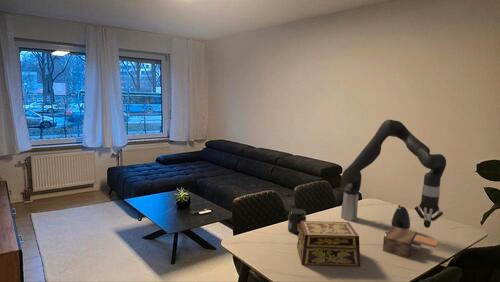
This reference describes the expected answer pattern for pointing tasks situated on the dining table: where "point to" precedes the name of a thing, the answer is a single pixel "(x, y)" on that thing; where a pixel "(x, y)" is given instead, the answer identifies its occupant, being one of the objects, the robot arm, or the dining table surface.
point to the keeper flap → (425, 241)
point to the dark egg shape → (401, 218)
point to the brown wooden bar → (413, 244)
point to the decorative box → (328, 244)
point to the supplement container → (295, 220)
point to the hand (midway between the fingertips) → (426, 227)
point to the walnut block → (399, 241)
